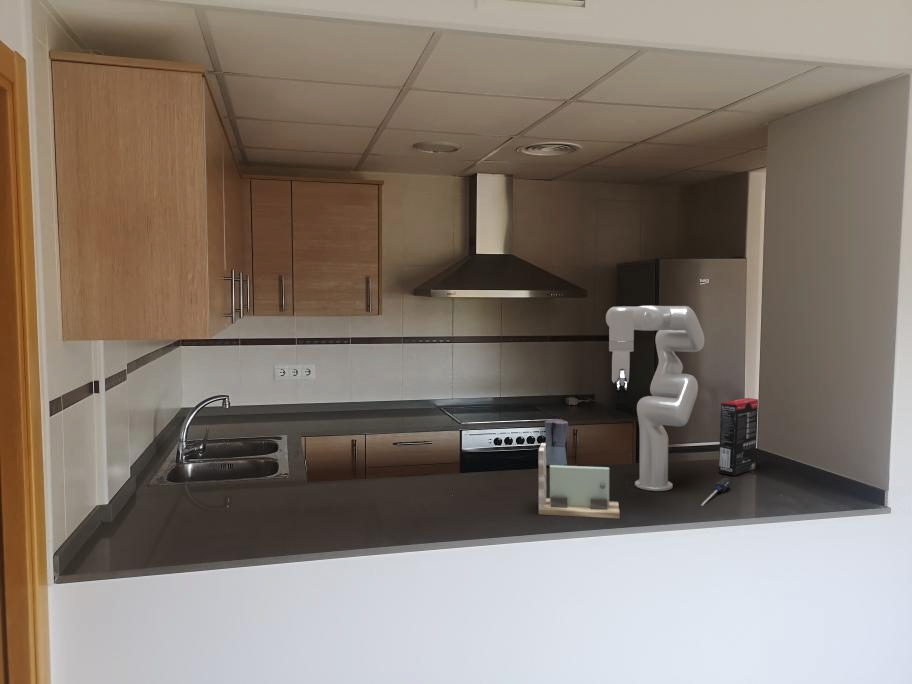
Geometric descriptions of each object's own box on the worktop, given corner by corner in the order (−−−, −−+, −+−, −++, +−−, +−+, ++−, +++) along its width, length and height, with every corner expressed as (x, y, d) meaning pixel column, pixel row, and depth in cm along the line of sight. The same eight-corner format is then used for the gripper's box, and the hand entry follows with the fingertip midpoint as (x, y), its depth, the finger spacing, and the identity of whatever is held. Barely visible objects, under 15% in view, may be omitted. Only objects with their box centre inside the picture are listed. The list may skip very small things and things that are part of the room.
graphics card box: (740, 466, 256) (741, 396, 255) (757, 469, 251) (759, 398, 249) (717, 473, 245) (718, 401, 244) (736, 477, 240) (736, 403, 238)
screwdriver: (707, 507, 206) (707, 495, 206) (695, 505, 208) (695, 493, 208) (732, 488, 226) (732, 478, 226) (721, 487, 228) (721, 476, 228)
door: (550, 502, 207) (550, 465, 207) (608, 505, 204) (609, 467, 203) (549, 506, 204) (549, 468, 203) (609, 509, 200) (609, 470, 199)
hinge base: (541, 502, 212) (541, 442, 211) (618, 506, 208) (618, 445, 206) (538, 514, 201) (538, 451, 200) (619, 518, 196) (619, 453, 195)
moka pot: (570, 461, 267) (570, 412, 266) (566, 470, 252) (566, 419, 251) (546, 460, 270) (546, 411, 269) (541, 469, 255) (541, 418, 254)
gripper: (608, 344, 217) (608, 396, 218) (609, 348, 200) (609, 404, 201) (632, 344, 215) (631, 396, 216) (635, 348, 198) (635, 404, 199)
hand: (621, 400), depth 208 cm, fingers open, 9 cm apart
